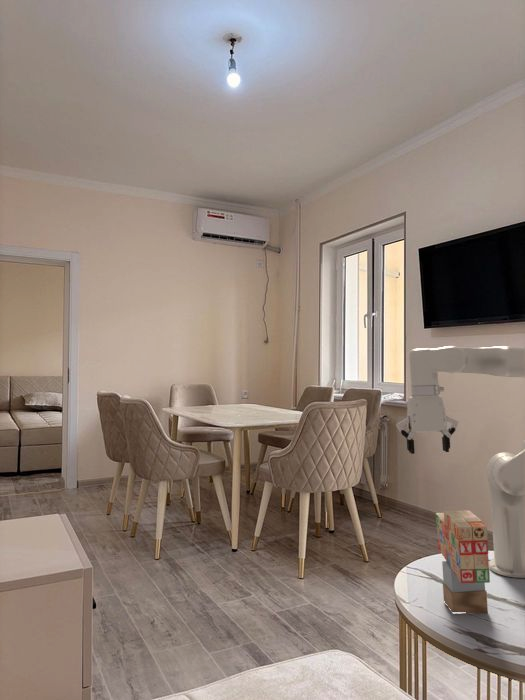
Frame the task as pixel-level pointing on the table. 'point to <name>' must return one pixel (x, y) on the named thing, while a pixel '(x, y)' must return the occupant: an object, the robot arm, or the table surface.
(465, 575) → the stack of blocks
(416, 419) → the robot arm
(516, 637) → the table surface
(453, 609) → the tower bottom
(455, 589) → the tower top
